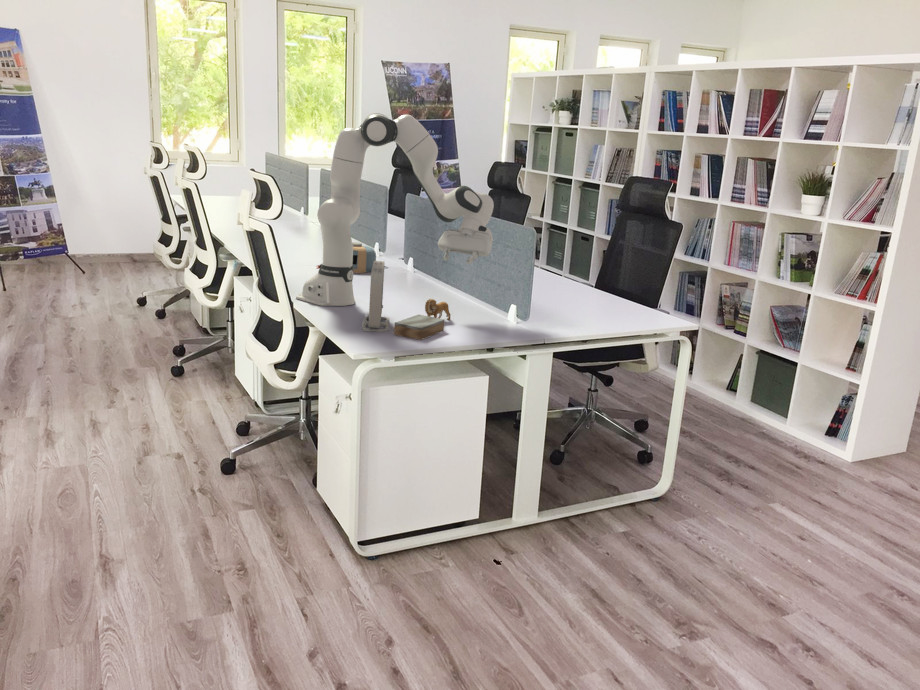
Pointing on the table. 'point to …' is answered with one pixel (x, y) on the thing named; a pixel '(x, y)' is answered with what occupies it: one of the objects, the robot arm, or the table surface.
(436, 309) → the lion figurine
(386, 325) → the network device
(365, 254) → the alarm clock
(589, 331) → the table surface
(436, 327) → the plinth
